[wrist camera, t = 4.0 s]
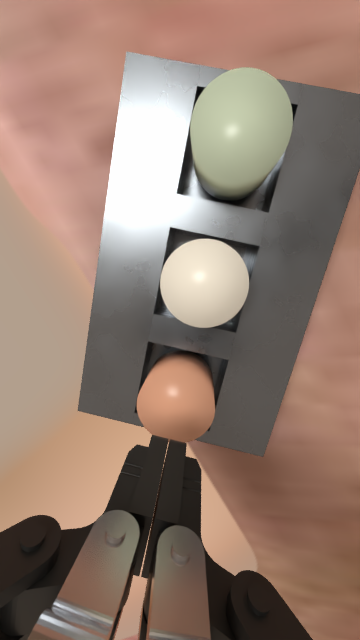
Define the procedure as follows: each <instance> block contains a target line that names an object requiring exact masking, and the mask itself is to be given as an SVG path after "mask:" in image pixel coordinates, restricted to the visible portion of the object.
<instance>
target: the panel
mask: <svg viewBox="0 0 360 640" xmlns="http://www.w3.org/2000/svg"><path fill="white" fill-rule="evenodd" d="M227 71H230V70H224V69H219V68H213V67H208V66H202V65H197V64H191V63H186V62H180V61H175V60H169V59H164V58H159V57H153V56H148V55H142V54H137V53H131V52H126V59H125V66H124V74H123V81H122V89H121V96H120V103H119V111H118V118H117V125H116V133H115V140H114V147H113V155H112V162H111V170H110V177H109V184H108V192H107V199H106V206H105V214H104V221H103V228H102V236H101V243H100V251H99V258H98V265H97V273H96V280H95V287H94V295H93V303H92V309H91V317H90V325H89V332H88V339H87V346H86V354H85V361H84V368H83V376H82V383H81V391H80V398H79V405H78V411H82V412H85V413H89V414H93V415H97V416H101V417H105V418H109V419H113V420H117V421H121V422H125V423H129V424H134V425H137V426H141V427H144V426H143V424H142V422H141V421H140V419H139V416H138V413H137V398H138V394H139V392H140V390H141V388H142V386H143V384H144V382H145V380H146V378H147V376H148V374H149V372H150V370H151V368H152V366H153V365H154V363H155V362H156V360H157V359H158V358H160V357H161V356H162V355H164V354H166V353H168V352H171V351H177V350H184V351H189V352H192V353H194V354H196V355H198V356H200V357H201V358H202V359H203V360H204V361H205V362H206V363H207V364H208V366H209V368H210V369H211V372H212V376H213V386H214V400H215V415H214V419H213V422H212V424H211V426H210V427H209V429H208V430H207V431H206V432H205V433H204V434H203V435H202V436H200V437H198V438H197V439H195V440H197V441H201V442H205V443H210V444H214V445H218V446H222V447H226V448H230V449H234V450H238V451H242V452H246V453H250V454H254V455H258V456H262V457H263V456H264V453H265V450H266V447H267V444H268V441H269V438H270V435H271V432H272V429H273V426H274V423H275V420H276V417H277V414H278V411H279V408H280V405H281V402H282V399H283V396H284V393H285V390H286V387H287V384H288V381H289V378H290V375H291V372H292V369H293V366H294V363H295V360H296V357H297V354H298V351H299V348H300V345H301V342H302V339H303V337H304V334H305V331H306V328H307V325H308V322H309V319H310V316H311V313H312V310H313V307H314V304H315V301H316V298H317V295H318V292H319V289H320V286H321V283H322V280H323V277H324V274H325V271H326V268H327V265H328V262H329V259H330V256H331V253H332V250H333V247H334V244H335V241H336V238H337V235H338V232H339V229H340V226H341V223H342V220H343V217H344V214H345V211H346V208H347V205H348V202H349V199H350V196H351V193H352V190H353V187H354V184H355V181H356V178H357V175H358V172H359V169H360V94H356V93H351V92H345V91H340V90H334V89H329V88H323V87H318V86H312V85H307V84H301V83H296V82H290V81H285V80H279V79H276V80H278V81H279V83H280V84H281V85H282V86H283V88H284V89H285V91H286V93H287V95H288V97H289V99H290V103H291V106H292V113H293V126H292V132H291V137H290V140H289V143H288V145H287V148H286V150H285V152H284V153H283V155H282V156H281V158H280V159H279V161H278V162H277V164H276V165H275V166H274V168H273V169H272V171H271V172H270V173H269V175H268V176H267V178H266V179H265V180H264V182H263V183H262V184H261V186H260V187H259V188H258V189H257V190H256V191H254V192H253V193H252V194H250V195H248V196H247V197H244V198H242V199H238V200H222V199H218V198H216V197H214V196H212V195H210V194H209V193H208V192H206V191H205V190H204V188H203V187H202V186H201V185H200V183H199V181H198V179H197V177H196V174H195V170H194V163H193V154H192V145H191V136H190V123H191V117H192V113H193V109H194V107H195V104H196V102H197V100H198V98H199V96H200V95H201V93H202V92H203V90H204V89H205V88H206V87H207V85H208V84H209V83H210V82H212V81H213V80H214V79H215V78H217V77H218V76H219V75H221V74H223V73H225V72H227ZM196 239H214V240H218V241H221V242H223V243H225V244H227V245H229V246H230V247H232V248H233V249H234V250H235V251H236V252H237V253H238V254H239V255H240V256H241V258H242V259H243V261H244V263H245V265H246V268H247V271H248V275H249V290H248V295H247V298H246V300H245V302H244V304H243V306H242V308H241V309H240V310H239V312H238V313H237V314H236V315H235V316H234V317H233V318H231V319H230V320H228V321H227V322H225V323H223V324H221V325H218V326H215V327H209V328H199V327H193V326H190V325H187V324H185V323H183V322H181V321H180V320H178V319H177V318H176V317H175V316H174V315H173V314H172V313H171V312H170V311H169V310H168V308H167V307H166V305H165V303H164V300H163V298H162V294H161V289H160V279H161V273H162V269H163V267H164V265H165V263H166V261H167V259H168V258H169V256H170V255H171V254H172V253H173V252H174V251H175V250H176V249H177V248H179V247H180V246H181V245H183V244H185V243H187V242H190V241H193V240H196Z"/></svg>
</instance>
